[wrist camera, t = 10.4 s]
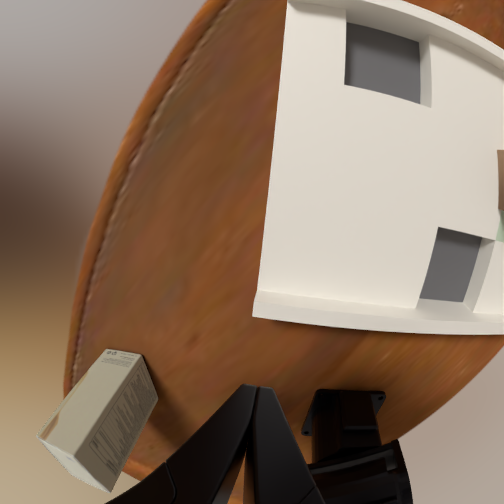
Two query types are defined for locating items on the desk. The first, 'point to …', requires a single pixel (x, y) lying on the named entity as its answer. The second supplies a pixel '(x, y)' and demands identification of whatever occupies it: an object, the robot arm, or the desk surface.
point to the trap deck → (385, 173)
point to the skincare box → (101, 419)
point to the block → (500, 179)
